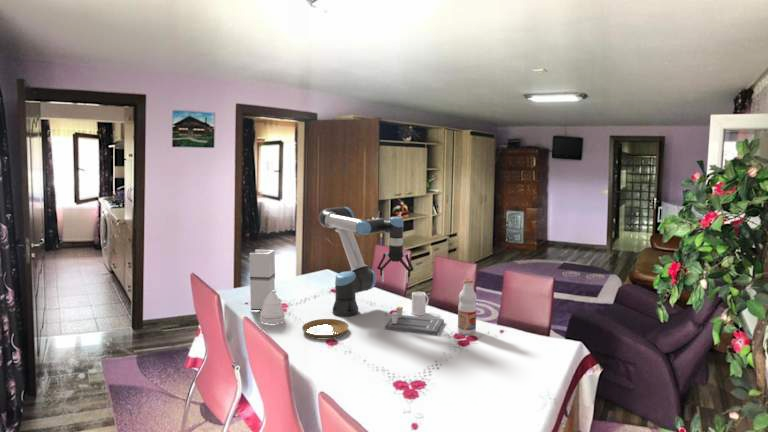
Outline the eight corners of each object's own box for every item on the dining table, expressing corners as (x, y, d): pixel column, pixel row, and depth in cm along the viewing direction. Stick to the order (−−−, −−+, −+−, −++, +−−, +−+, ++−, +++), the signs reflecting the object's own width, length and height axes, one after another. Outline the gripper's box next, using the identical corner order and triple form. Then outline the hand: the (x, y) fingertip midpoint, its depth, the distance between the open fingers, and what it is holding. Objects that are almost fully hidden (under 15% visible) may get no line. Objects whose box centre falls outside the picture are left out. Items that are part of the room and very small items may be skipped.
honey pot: (289, 321, 291) (288, 289, 289) (269, 326, 282) (268, 294, 280) (275, 315, 300) (274, 285, 298) (255, 321, 291) (255, 289, 288)
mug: (424, 309, 314) (424, 289, 313) (433, 313, 307) (433, 293, 306) (408, 312, 308) (408, 292, 306) (416, 316, 301) (417, 296, 299)
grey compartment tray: (384, 329, 280) (384, 325, 279) (394, 317, 299) (395, 314, 298) (436, 335, 272) (436, 331, 271) (443, 322, 291) (443, 319, 290)
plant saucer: (329, 344, 259) (329, 338, 258) (292, 335, 271) (292, 328, 271) (357, 330, 279) (357, 324, 279) (321, 321, 292) (321, 316, 291)
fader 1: (391, 323, 282) (391, 314, 281) (393, 321, 285) (393, 312, 284) (396, 323, 281) (396, 314, 280) (398, 321, 284) (398, 312, 283)
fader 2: (396, 317, 291) (396, 308, 290) (397, 315, 294) (398, 306, 294) (401, 318, 290) (401, 309, 290) (402, 316, 294) (402, 307, 293)
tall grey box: (275, 307, 316) (274, 250, 311) (270, 312, 305) (268, 253, 301) (257, 306, 317) (255, 249, 312) (251, 312, 306) (249, 253, 302)
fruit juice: (459, 327, 283) (460, 277, 279) (476, 329, 280) (478, 278, 276) (456, 333, 274) (457, 281, 270) (474, 335, 271) (476, 282, 268)
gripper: (372, 245, 289) (371, 282, 292) (418, 247, 286) (416, 285, 289) (374, 242, 296) (373, 279, 299) (418, 244, 293) (417, 281, 297)
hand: (394, 282), depth 294 cm, fingers open, 13 cm apart
